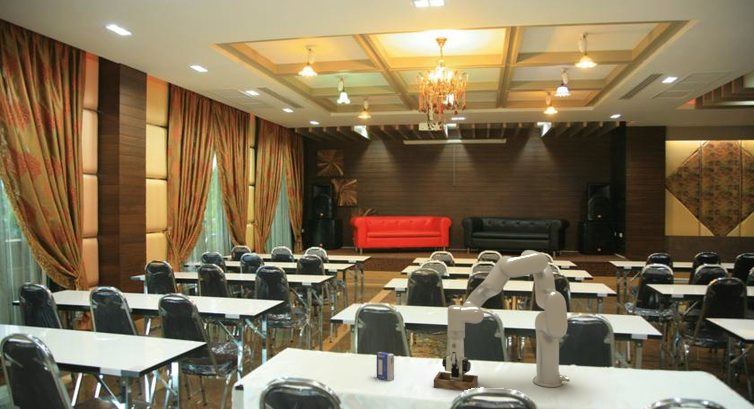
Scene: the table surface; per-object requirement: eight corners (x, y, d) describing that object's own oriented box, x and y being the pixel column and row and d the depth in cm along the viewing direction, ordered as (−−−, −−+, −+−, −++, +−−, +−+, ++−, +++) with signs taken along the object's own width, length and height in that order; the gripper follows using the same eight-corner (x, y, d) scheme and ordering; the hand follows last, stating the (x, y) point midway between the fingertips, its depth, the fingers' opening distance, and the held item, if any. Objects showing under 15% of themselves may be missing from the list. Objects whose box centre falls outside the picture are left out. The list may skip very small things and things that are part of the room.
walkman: (376, 378, 243) (376, 352, 243) (379, 376, 246) (379, 350, 245) (391, 381, 239) (391, 354, 239) (394, 379, 241) (394, 353, 241)
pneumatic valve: (466, 386, 228) (466, 358, 228) (441, 380, 235) (442, 353, 235) (471, 382, 233) (471, 355, 233) (447, 377, 240) (447, 350, 239)
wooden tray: (477, 383, 236) (477, 375, 236) (473, 392, 226) (473, 384, 226) (439, 379, 242) (439, 371, 242) (433, 387, 231) (433, 379, 231)
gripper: (461, 339, 224) (461, 382, 224) (467, 330, 241) (468, 370, 241) (443, 337, 227) (443, 380, 227) (451, 328, 243) (451, 368, 243)
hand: (456, 374), depth 234 cm, fingers closed on pneumatic valve, 5 cm apart
